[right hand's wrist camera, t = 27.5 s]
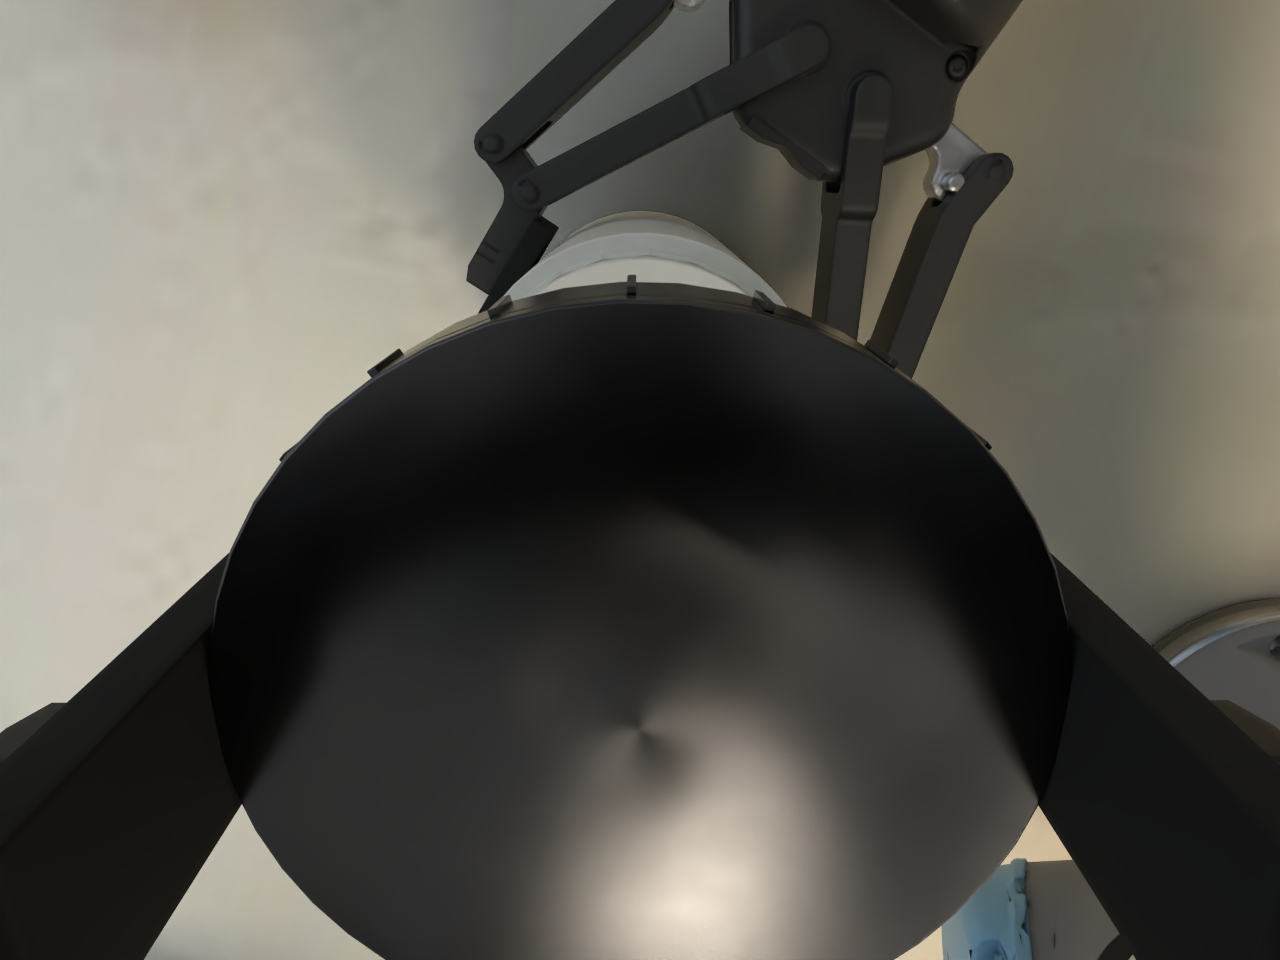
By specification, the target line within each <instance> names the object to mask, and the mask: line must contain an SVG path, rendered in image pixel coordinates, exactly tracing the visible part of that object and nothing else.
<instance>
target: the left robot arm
mask: <svg viewBox="0 0 1280 960" xmlns="http://www.w3.org/2000/svg"><path fill="white" fill-rule="evenodd" d="M706 1H707V0H615V1H614V2H613V3H612V4H611V5H610V6H609V7H608V8H607V9H606V10H605V11H604V12H603V13H602V14H601V15H599V16H598V17H597V18H596V19H595V20H594V21H593V22H592V23H591V24H590V25H589V26H588V27H587V28H586V29H585V30H584V31H583V32H581V33H580V34H579V35H578V36H577V37H576V38H575V39H574V40H573V41H572V42H571V43H570V44H569V45H568V46H567V47H566V48H564V49H563V50H562V51H561V52H560V53H559V54H558V55H557V56H556V57H555V58H554V59H553V60H552V61H551V62H550V63H549V64H547V65H546V66H545V67H544V68H543V69H542V70H541V71H540V72H539V73H538V74H537V75H536V76H535V77H534V78H533V79H532V80H531V81H529V82H528V83H527V84H526V85H525V86H524V87H523V88H522V89H521V90H520V91H519V92H518V93H517V94H516V95H515V96H514V97H512V98H511V99H510V100H509V101H508V102H507V103H506V104H505V105H504V106H503V107H502V108H501V109H500V110H499V111H498V112H497V113H496V114H494V115H493V116H492V117H491V118H490V119H489V120H488V121H487V122H486V123H485V124H484V125H483V126H482V127H481V128H480V129H479V130H478V132H477V133H476V135H475V139H474V145H475V150H476V152H477V153H478V155H479V156H480V157H481V158H482V159H483V160H484V161H486V163H487V164H488V165H489V167H490V168H491V169H492V171H493V172H494V173H495V175H496V176H497V177H498V178H499V180H500V182H501V183H502V186H503V189H504V202H503V204H502V207H501V209H500V211H499V212H498V214H497V216H496V218H495V219H494V221H493V223H492V225H491V226H490V228H489V230H488V232H487V233H486V235H485V237H484V239H483V241H482V242H481V244H480V246H479V248H478V249H477V251H476V253H475V255H474V256H473V258H472V260H471V262H470V263H469V265H468V272H467V280H466V281H468V282H469V283H471V284H472V285H474V286H475V287H477V288H479V289H480V290H482V291H483V292H485V293H486V294H488V295H489V296H488V297H487V299H486V301H485V302H484V304H483V306H482V308H481V309H480V311H479V313H482V312H484V311H487V310H488V309H489V308H490V307H492V306H493V305H494V304H495V303H496V302H497V301H498V300H499V299H501V298H502V297H503V296H504V295H505V294H506V293H507V291H508V290H509V289H510V288H511V287H512V286H513V285H514V284H515V283H516V282H517V281H518V280H519V279H520V278H522V277H523V276H524V275H525V274H526V273H527V272H528V271H530V270H531V269H532V268H533V267H534V266H535V265H536V264H537V263H538V262H539V260H540V259H541V257H542V255H543V254H544V252H545V250H546V249H547V247H548V245H549V243H550V242H551V240H552V238H553V237H554V235H555V233H556V232H557V230H558V228H559V227H557V226H556V225H554V224H553V223H551V222H550V221H548V220H547V219H545V218H544V217H542V214H543V212H544V211H545V209H546V207H547V206H548V205H550V204H552V203H554V202H556V201H558V200H560V199H562V198H563V197H565V196H567V195H569V194H571V193H573V192H575V191H577V190H579V189H581V188H583V187H585V186H587V185H589V184H591V183H593V182H595V181H596V180H598V179H600V178H602V177H604V176H606V175H608V174H610V173H612V172H614V171H616V170H618V169H620V168H622V167H624V166H626V165H628V164H629V163H631V162H633V161H635V160H637V159H639V158H641V157H643V156H645V155H647V154H649V153H651V152H653V151H655V150H657V149H659V148H661V147H662V146H664V145H666V144H668V143H670V142H672V141H674V140H676V139H678V138H680V137H682V136H684V135H686V134H688V133H690V132H692V131H694V130H696V129H697V128H699V127H701V126H704V125H706V124H708V123H710V122H711V121H713V120H715V119H717V118H719V117H721V116H723V115H725V114H727V113H729V112H731V111H733V114H734V116H735V118H736V120H737V122H738V123H739V124H740V126H741V127H740V128H739V129H741V130H742V131H743V132H745V133H746V134H747V135H749V136H750V137H752V138H753V139H754V140H756V141H757V142H760V143H763V144H766V145H769V146H771V147H774V148H777V149H778V150H779V151H780V152H781V153H782V154H783V156H784V157H785V158H786V160H787V161H788V162H789V163H790V165H791V166H792V167H793V168H794V169H795V170H797V171H798V172H800V173H801V174H802V175H804V176H805V177H806V178H808V179H809V180H817V181H822V182H823V187H822V197H821V213H822V223H821V233H820V242H819V252H818V261H817V271H816V280H815V289H814V299H813V308H812V318H813V319H815V320H817V321H819V322H822V323H824V324H826V325H828V326H830V327H832V328H835V329H837V330H839V331H841V332H843V333H845V334H846V335H848V336H849V337H851V338H852V339H854V340H855V341H857V336H858V328H859V320H860V312H861V304H862V296H863V288H864V280H865V272H866V264H867V256H868V248H869V240H870V232H871V225H872V221H873V219H874V217H875V215H876V212H877V208H878V201H879V193H880V185H881V178H882V170H883V166H884V165H887V164H890V163H892V162H895V161H897V160H900V159H902V158H905V157H907V156H910V155H912V154H915V153H918V152H920V151H923V150H925V151H926V152H927V154H928V156H929V162H930V164H929V169H928V171H927V173H926V176H925V178H924V182H923V187H924V191H925V193H926V194H927V196H928V197H929V198H928V199H927V200H926V202H925V204H924V205H923V207H922V209H921V211H920V212H919V214H918V217H917V219H916V221H915V223H914V226H913V228H912V231H911V234H910V236H909V239H908V242H907V244H906V247H905V249H904V252H903V255H902V257H901V260H900V263H899V265H898V268H897V270H896V273H895V276H894V278H893V281H892V284H891V286H890V289H889V292H888V294H887V297H886V299H885V302H884V305H883V307H882V310H881V313H880V315H879V318H878V321H877V323H876V326H875V328H874V331H873V334H872V336H871V339H870V341H871V342H873V343H874V344H876V345H877V346H878V347H880V348H881V349H883V350H884V351H885V352H887V353H888V354H889V355H891V356H892V357H894V358H895V359H896V360H898V361H899V364H898V365H897V367H896V368H897V369H899V370H900V371H901V372H903V373H904V374H905V375H907V376H908V377H909V378H911V379H912V377H913V374H914V372H915V369H916V367H917V364H918V362H919V359H920V357H921V354H922V352H923V349H924V347H925V344H926V342H927V339H928V337H929V335H930V332H931V330H932V327H933V325H934V322H935V320H936V317H937V315H938V312H939V310H940V307H941V305H942V302H943V300H944V297H945V295H946V292H947V290H948V287H949V285H950V283H951V280H952V278H953V275H954V273H955V270H956V268H957V265H958V263H959V260H960V258H961V255H962V253H963V250H964V248H965V245H966V243H967V240H968V238H969V235H970V233H971V231H972V228H973V226H974V224H975V223H976V222H977V221H978V219H979V218H980V217H981V216H982V215H983V213H984V212H985V211H986V210H987V208H988V207H989V206H990V205H991V204H992V202H993V201H994V200H995V199H996V198H997V196H998V195H999V194H1000V193H1001V191H1002V190H1003V189H1004V188H1005V187H1006V185H1007V184H1008V183H1009V181H1010V179H1011V178H1012V175H1013V164H1012V161H1011V160H1010V158H1009V157H1008V156H1006V155H1005V154H1003V153H987V152H985V151H984V150H983V149H982V148H981V147H979V146H978V145H977V144H976V143H975V142H974V141H973V140H971V139H970V138H969V137H968V136H967V135H966V134H964V133H963V132H962V131H961V130H960V129H959V128H957V127H956V126H955V125H954V124H953V123H952V120H953V116H954V110H955V104H956V100H957V97H958V94H959V92H960V89H961V87H962V85H963V84H964V82H965V80H966V79H967V77H968V76H969V75H970V73H971V72H972V71H973V69H974V68H975V66H976V65H977V64H978V62H979V61H980V59H981V58H982V57H983V55H984V54H985V52H986V51H987V50H988V48H989V47H990V45H991V44H992V43H993V41H994V40H995V38H996V37H997V36H998V34H999V33H1000V31H1001V30H1002V29H1003V27H1004V26H1005V24H1006V23H1007V22H1008V20H1009V19H1010V17H1011V16H1012V15H1013V13H1014V12H1015V10H1016V9H1017V8H1018V6H1019V5H1020V3H1021V2H1022V1H1023V0H730V2H729V33H730V65H729V66H727V67H725V68H723V69H721V70H719V71H717V72H715V73H713V74H711V75H709V76H708V77H706V78H704V79H702V80H700V81H698V82H697V83H695V84H693V85H692V86H690V87H688V88H687V89H685V90H683V91H681V92H679V93H677V94H675V95H673V96H671V97H670V98H668V99H666V100H664V101H662V102H660V103H658V104H656V105H654V106H652V107H650V108H649V109H647V110H645V111H643V112H641V113H639V114H637V115H635V116H633V117H631V118H630V119H628V120H626V121H624V122H622V123H620V124H618V125H616V126H614V127H612V128H610V129H609V130H607V131H605V132H603V133H601V134H599V135H597V136H595V137H593V138H591V139H589V140H588V141H586V142H584V143H582V144H580V145H578V146H576V147H574V148H572V149H570V150H568V151H567V152H565V153H563V154H561V155H559V156H557V157H555V158H553V159H551V160H549V161H547V162H546V163H544V164H542V165H540V166H538V165H537V164H536V163H535V161H534V160H533V159H532V157H531V156H530V155H529V153H528V152H527V151H526V149H527V148H528V147H529V146H530V145H532V144H533V143H534V142H535V141H536V140H537V139H538V138H539V137H540V136H541V135H542V134H543V133H545V132H546V131H547V130H548V129H549V128H550V127H551V126H552V125H553V124H554V123H555V122H557V121H558V120H559V119H560V118H561V117H562V116H563V115H564V114H565V113H566V112H567V111H568V110H570V109H571V108H572V107H573V106H574V105H575V104H576V103H577V102H578V101H579V100H580V99H582V98H583V97H584V96H585V95H586V94H587V93H588V92H589V91H590V90H591V89H592V88H594V87H595V86H596V85H597V84H598V83H599V82H600V81H601V80H602V79H603V78H604V77H605V76H607V75H608V74H609V73H610V72H611V71H612V70H613V69H614V68H615V67H616V66H617V65H619V64H620V63H621V62H622V61H623V60H624V59H625V58H626V57H627V56H628V55H629V54H631V53H632V52H633V51H634V50H635V49H636V48H637V47H638V46H639V45H640V44H641V43H642V42H644V41H645V40H646V39H647V38H648V37H649V36H650V35H651V34H652V33H653V32H654V31H655V30H656V29H657V28H658V27H659V26H660V25H661V24H662V23H663V22H664V20H665V19H666V18H667V17H668V15H669V14H670V13H671V11H672V10H673V8H674V7H676V8H677V9H679V10H681V11H683V12H694V11H696V10H697V9H699V8H700V7H701V6H702V5H703V4H704V3H705V2H706ZM479 313H478V314H479ZM1153 648H1154V649H1155V650H1156V651H1157V652H1158V653H1159V654H1160V655H1161V656H1162V657H1163V658H1165V659H1166V660H1167V661H1168V662H1169V663H1170V664H1171V665H1172V666H1173V667H1174V668H1175V669H1176V670H1177V671H1179V672H1180V673H1181V674H1182V675H1183V676H1184V677H1185V678H1186V679H1187V680H1188V681H1189V682H1190V683H1192V684H1193V685H1194V686H1195V687H1196V688H1197V689H1198V690H1199V691H1200V692H1201V693H1202V694H1203V695H1205V696H1206V697H1207V698H1208V699H1209V700H1229V701H1231V702H1233V703H1235V704H1237V705H1238V706H1240V707H1242V708H1244V709H1246V710H1247V711H1249V712H1251V713H1253V714H1254V715H1256V716H1258V717H1260V718H1262V719H1263V720H1265V721H1267V722H1269V723H1271V724H1272V725H1274V726H1275V727H1277V728H1278V729H1279V730H1280V599H1265V600H1258V601H1250V602H1245V603H1241V604H1236V605H1232V606H1229V607H1226V608H1222V609H1219V610H1216V611H1214V612H1211V613H1208V614H1206V615H1203V616H1201V617H1199V618H1197V619H1195V620H1193V621H1191V622H1189V623H1187V624H1185V625H1183V626H1182V627H1180V628H1178V629H1176V630H1175V631H1173V632H1172V633H1170V634H1169V635H1167V636H1166V637H1164V638H1163V639H1161V640H1160V641H1159V642H1158V643H1156V644H1155V645H1154V646H1153ZM942 947H943V960H1136V959H1135V957H1134V956H1133V954H1132V953H1131V951H1130V949H1129V948H1128V946H1127V945H1126V943H1125V942H1124V940H1123V938H1122V937H1121V935H1120V934H1119V932H1118V930H1117V929H1116V927H1115V926H1114V924H1113V922H1112V921H1111V919H1110V918H1109V916H1108V915H1107V913H1106V911H1105V910H1104V908H1103V907H1102V905H1101V903H1100V902H1099V900H1098V899H1097V897H1096V896H1095V894H1094V892H1093V891H1092V889H1091V888H1090V886H1089V884H1088V883H1087V881H1086V880H1085V878H1084V877H1083V875H1082V873H1081V872H1080V870H1079V869H1078V867H1077V865H1076V864H1075V862H1074V861H1073V860H1062V861H1043V862H1027V860H1026V859H1018V858H1017V859H1014V860H1013V861H1011V863H1010V864H1007V865H1000V866H999V867H998V868H997V870H996V871H995V872H994V874H993V875H992V876H991V878H990V879H989V880H988V881H987V882H986V884H985V885H984V886H983V887H982V888H981V889H980V890H979V891H978V892H977V893H976V894H975V895H974V896H973V897H972V898H971V899H970V900H969V901H968V902H967V903H966V904H965V905H964V906H963V907H962V908H961V909H960V910H959V911H958V912H957V913H956V914H955V915H954V916H953V917H951V918H950V919H949V920H948V921H946V922H945V923H944V924H943V925H942Z"/></svg>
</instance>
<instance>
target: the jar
mask: <svg viewBox="0 0 1280 960" xmlns="http://www.w3.org/2000/svg"><path fill="white" fill-rule="evenodd" d="M628 275H636V282H656V283H682V284H689V285H695V286H701V287H707V288H714V289H720V290H726V291H733V292H738V293H741V294H745V295H748V296H751V297H753V295H754V292H755V290H757V291H761V292H763V293H764V294H765V295H766V296H767V297H768V298H769V299H770V300H771V301H773V302H774V303H775V304H778V305H781V306H784V307H787V306H786V305H785V303H784V302H783V301H782V299H781V298H780V297H779V295H778V294H777V293H776V292H775V291H774V290H773V289H772V288H771V287H770V286H769V285H768V284H767V283H766V282H765V281H764V280H763V279H762V278H761V277H760V276H759V275H758V274H757V273H755V272H754V271H753V270H752V269H751V268H750V267H748V266H747V265H746V264H745V263H744V262H743V261H742V260H740V259H739V258H738V257H737V256H736V255H735V254H733V253H732V252H731V251H730V250H729V249H728V248H727V247H725V246H724V245H723V244H722V243H721V242H720V241H718V240H717V239H716V238H715V237H713V236H712V235H711V234H709V233H708V232H707V231H706V230H704V229H702V228H700V227H699V226H697V225H695V224H693V223H692V222H689V221H687V220H684V219H682V218H679V217H677V216H673V215H669V214H665V213H660V212H651V211H629V212H623V213H617V214H612V215H609V216H606V217H603V218H599V219H597V220H595V221H593V222H591V223H589V224H586V225H584V226H583V227H581V228H580V229H578V230H577V231H575V232H574V233H572V234H571V235H570V236H568V237H567V238H566V239H565V240H564V241H563V242H561V243H560V244H559V245H558V246H557V247H556V248H555V249H553V250H552V251H551V252H550V253H549V254H548V255H547V256H545V257H544V258H543V259H542V260H541V261H540V262H539V263H537V264H536V265H535V266H534V267H533V268H532V269H531V270H530V271H528V272H527V273H526V274H525V275H524V276H523V277H522V278H520V279H519V280H518V281H517V282H516V283H515V284H514V285H513V286H512V287H511V288H510V289H509V290H508V291H507V293H506V294H505V295H504V296H507V295H510V297H511V299H512V301H514V300H518V299H522V298H526V297H530V296H534V295H538V294H542V293H546V292H550V291H554V290H558V289H562V288H569V287H578V286H587V285H596V284H605V283H614V282H627V276H628Z"/></svg>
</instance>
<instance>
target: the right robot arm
mask: <svg viewBox="0 0 1280 960" xmlns="http://www.w3.org/2000/svg"><path fill="white" fill-rule="evenodd" d="M1050 554H1051V553H1050ZM228 557H229V553H228V554H227V555H226V556H225V557H224V558H223V559H222V560H221V561H220V562H219V563H218V564H217V565H215V566H214V567H213V568H212V569H211V570H210V571H209V572H208V573H207V574H206V575H205V576H204V577H202V578H201V579H200V580H199V581H198V582H197V583H196V584H195V585H194V586H193V587H192V588H191V589H189V590H188V591H187V592H186V593H185V594H184V595H183V596H182V597H181V598H180V599H179V600H178V601H177V602H175V603H174V604H173V605H172V606H171V607H170V608H169V609H168V610H167V611H166V612H165V613H164V614H162V615H161V616H160V617H159V618H158V619H157V620H156V621H155V622H154V623H153V624H152V625H151V626H149V627H148V628H147V629H146V630H145V631H144V632H143V633H142V634H141V635H140V636H139V637H138V638H137V639H135V640H134V641H133V642H132V643H131V644H130V645H129V646H128V647H127V648H126V649H125V650H124V651H122V652H121V653H120V654H119V655H118V656H117V657H116V658H115V659H114V660H113V661H112V662H111V663H109V664H108V665H107V666H106V667H105V668H104V669H103V670H102V671H101V672H100V673H99V674H98V675H96V676H95V677H94V678H93V679H92V680H91V681H90V682H89V683H88V684H87V685H86V686H85V687H84V688H82V689H81V690H80V691H79V692H78V693H77V694H76V695H75V696H74V697H73V698H72V699H71V700H69V701H68V702H67V703H51V704H49V705H47V706H45V707H43V708H42V709H40V710H38V711H36V712H35V713H33V714H31V715H29V716H27V717H26V718H24V719H22V720H20V721H19V722H17V723H15V724H13V725H11V726H10V727H8V728H6V729H5V730H4V731H2V732H1V733H0V960H144V958H145V956H146V955H147V953H148V952H149V950H150V949H151V947H152V945H153V944H154V942H155V941H156V939H157V937H158V936H159V934H160V933H161V931H162V930H163V928H164V926H165V925H166V923H167V922H168V920H169V918H170V917H171V915H172V914H173V912H174V910H175V909H176V907H177V906H178V904H179V903H180V901H181V899H182V898H183V896H184V895H185V893H186V891H187V890H188V888H189V887H190V885H191V884H192V882H193V880H194V879H195V877H196V876H197V874H198V872H199V871H200V869H201V868H202V866H203V865H204V863H205V861H206V860H207V858H208V857H209V855H210V853H211V852H212V850H213V849H214V847H215V845H216V844H217V842H218V841H219V839H220V838H221V836H222V834H223V833H224V831H225V830H226V828H227V826H228V825H229V823H230V822H231V820H232V819H233V817H234V815H235V814H236V812H237V811H238V809H239V807H240V806H241V804H242V803H241V801H240V799H239V797H238V795H237V793H236V791H235V789H234V786H233V783H232V780H231V777H230V774H229V771H228V769H227V766H226V763H225V760H224V757H223V754H222V750H221V746H220V741H219V736H218V732H217V727H216V722H215V717H214V712H213V707H212V702H211V690H210V654H209V648H210V641H211V633H212V625H213V618H214V610H215V602H216V597H217V594H218V590H219V587H220V584H221V580H222V577H223V574H224V570H225V567H226V564H227V560H228ZM1051 557H1052V559H1053V562H1054V564H1055V566H1056V570H1057V574H1058V578H1059V583H1060V587H1061V591H1062V595H1063V600H1064V604H1065V608H1066V612H1067V616H1068V629H1069V643H1070V657H1071V676H1070V688H1069V700H1068V705H1067V711H1066V716H1065V721H1064V725H1063V730H1062V734H1061V739H1060V744H1059V748H1058V753H1057V757H1056V762H1055V765H1054V768H1053V770H1052V773H1051V775H1050V778H1049V780H1048V783H1047V785H1046V788H1045V790H1044V792H1043V795H1042V797H1041V800H1040V802H1039V807H1040V808H1041V810H1042V811H1043V813H1044V815H1045V816H1046V818H1047V819H1048V821H1049V823H1050V824H1051V826H1052V827H1053V829H1054V831H1055V832H1056V834H1057V835H1058V837H1059V838H1060V840H1061V842H1062V843H1063V845H1064V846H1065V848H1066V850H1067V851H1068V853H1069V854H1070V856H1071V857H1072V859H1073V861H1074V862H1075V864H1076V865H1077V867H1078V869H1079V870H1080V872H1081V873H1082V875H1083V877H1084V878H1085V880H1086V881H1087V883H1088V884H1089V886H1090V888H1091V889H1092V891H1093V892H1094V894H1095V896H1096V897H1097V899H1098V900H1099V902H1100V903H1101V905H1102V907H1103V908H1104V910H1105V911H1106V913H1107V915H1108V916H1109V918H1110V919H1111V921H1112V922H1113V924H1114V926H1115V927H1116V929H1117V930H1118V932H1119V934H1120V935H1121V937H1122V938H1123V940H1124V942H1125V943H1126V945H1127V946H1128V948H1129V949H1130V951H1131V953H1132V954H1133V956H1134V957H1135V959H1136V960H1280V730H1279V729H1278V728H1277V727H1275V726H1274V725H1272V724H1271V723H1269V722H1267V721H1265V720H1263V719H1262V718H1260V717H1258V716H1256V715H1254V714H1253V713H1251V712H1249V711H1247V710H1246V709H1244V708H1242V707H1240V706H1238V705H1237V704H1235V703H1233V702H1231V701H1229V700H1209V699H1208V698H1207V697H1206V696H1205V695H1203V694H1202V693H1201V692H1200V691H1199V690H1198V689H1197V688H1196V687H1195V686H1194V685H1193V684H1192V683H1190V682H1189V681H1188V680H1187V679H1186V678H1185V677H1184V676H1183V675H1182V674H1181V673H1180V672H1179V671H1177V670H1176V669H1175V668H1174V667H1173V666H1172V665H1171V664H1170V663H1169V662H1168V661H1167V660H1166V659H1165V658H1163V657H1162V656H1161V655H1160V654H1159V653H1158V652H1157V651H1156V650H1155V649H1154V648H1153V647H1152V646H1150V645H1149V644H1148V643H1147V642H1146V641H1145V640H1144V639H1143V638H1142V637H1141V636H1140V635H1139V634H1137V633H1136V632H1135V631H1134V630H1133V629H1132V628H1131V627H1130V626H1129V625H1128V624H1127V623H1126V622H1125V621H1123V620H1122V619H1121V618H1120V617H1119V616H1118V615H1117V614H1116V613H1115V612H1114V611H1113V610H1112V609H1110V608H1109V607H1108V606H1107V605H1106V604H1105V603H1104V602H1103V601H1102V600H1101V599H1100V598H1099V597H1097V596H1096V595H1095V594H1094V593H1093V592H1092V591H1091V590H1090V589H1089V588H1088V587H1087V586H1086V585H1084V584H1083V583H1082V582H1081V581H1080V580H1079V579H1078V578H1077V577H1076V576H1075V575H1074V574H1073V573H1072V572H1070V571H1069V570H1068V569H1067V568H1066V567H1065V566H1064V565H1063V564H1062V563H1061V562H1060V561H1059V560H1057V559H1056V558H1055V557H1054V556H1053V555H1052V554H1051Z"/></svg>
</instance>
